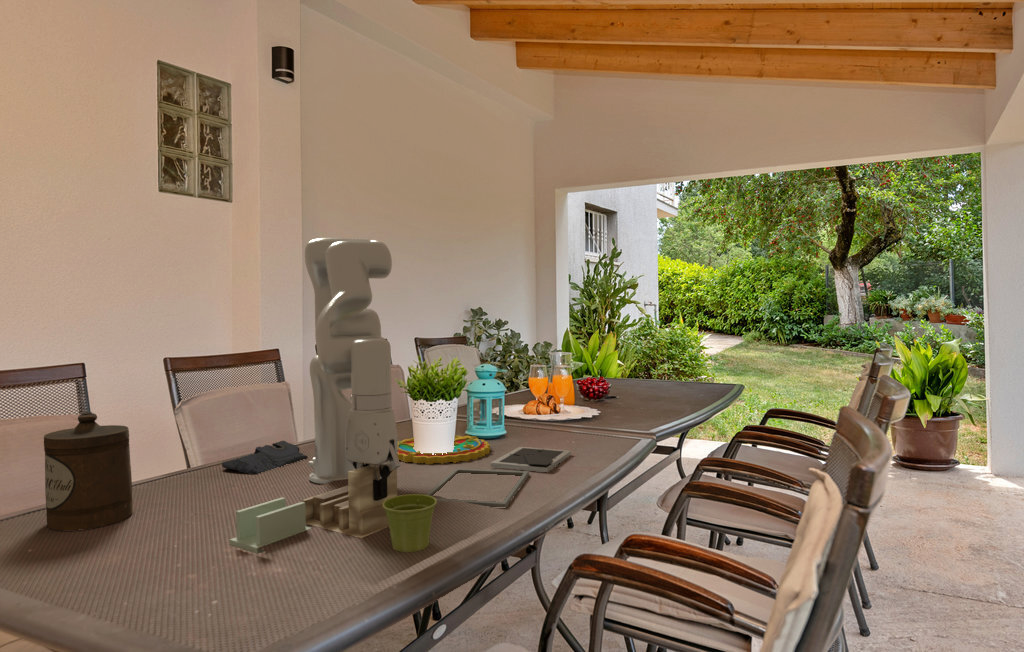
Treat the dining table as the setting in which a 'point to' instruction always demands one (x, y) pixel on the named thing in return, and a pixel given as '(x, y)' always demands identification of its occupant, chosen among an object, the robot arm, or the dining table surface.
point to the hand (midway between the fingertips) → (373, 496)
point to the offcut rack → (346, 517)
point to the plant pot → (409, 521)
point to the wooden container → (87, 475)
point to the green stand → (268, 524)
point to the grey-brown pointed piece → (531, 459)
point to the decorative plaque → (462, 452)
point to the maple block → (366, 492)
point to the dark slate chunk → (266, 458)
